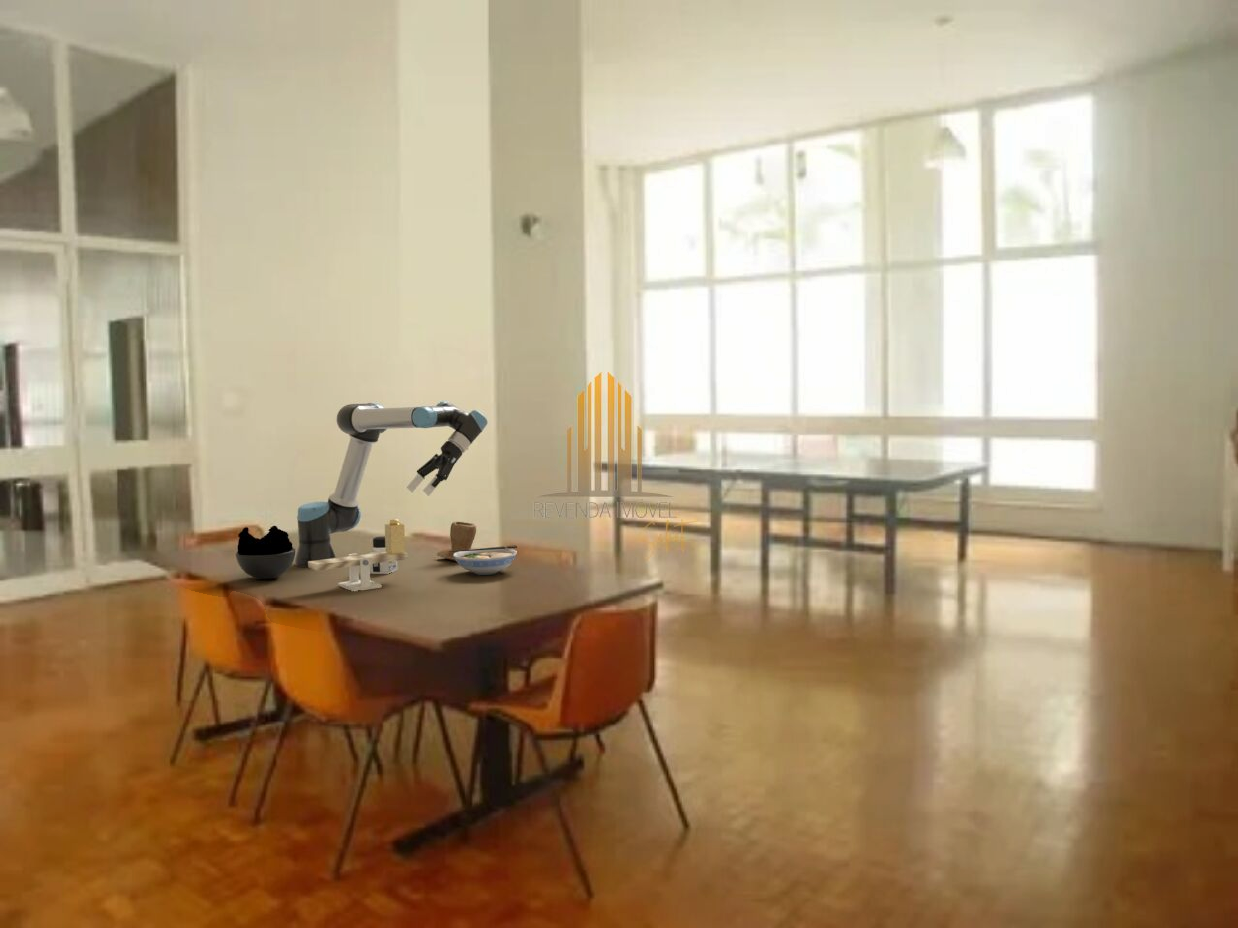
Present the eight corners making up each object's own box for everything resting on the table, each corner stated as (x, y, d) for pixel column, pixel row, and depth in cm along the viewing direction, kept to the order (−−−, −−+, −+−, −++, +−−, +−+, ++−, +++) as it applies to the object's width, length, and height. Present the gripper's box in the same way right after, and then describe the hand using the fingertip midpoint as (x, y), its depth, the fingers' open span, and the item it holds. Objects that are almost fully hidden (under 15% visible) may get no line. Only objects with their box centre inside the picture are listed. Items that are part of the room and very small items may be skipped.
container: (388, 574, 360) (387, 538, 358) (368, 573, 361) (367, 538, 360) (397, 570, 367) (396, 535, 366) (378, 569, 369) (376, 535, 368)
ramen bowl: (454, 581, 343) (453, 558, 343) (447, 570, 365) (446, 548, 365) (526, 576, 350) (525, 553, 349) (515, 565, 372) (514, 543, 371)
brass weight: (385, 552, 346) (384, 519, 345) (399, 551, 349) (398, 518, 348) (391, 554, 342) (390, 521, 341) (405, 552, 345) (404, 519, 344)
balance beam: (316, 570, 325) (316, 564, 325) (308, 567, 331) (307, 561, 331) (407, 559, 344) (407, 553, 343) (398, 556, 350) (398, 550, 350)
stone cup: (482, 560, 385) (481, 521, 383) (455, 564, 377) (454, 525, 376) (462, 555, 396) (461, 518, 395) (436, 559, 389) (434, 521, 388)
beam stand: (353, 591, 330) (351, 560, 329) (338, 585, 340) (337, 555, 339) (381, 587, 336) (380, 556, 335) (366, 581, 346) (365, 551, 345)
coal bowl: (308, 575, 360) (306, 523, 359) (268, 586, 342) (265, 531, 340) (266, 572, 368) (263, 521, 367) (224, 582, 350) (221, 529, 349)
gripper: (478, 456, 351) (440, 501, 343) (446, 452, 371) (409, 495, 363) (464, 441, 347) (425, 487, 339) (432, 438, 367) (395, 481, 360)
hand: (417, 491), depth 351 cm, fingers open, 13 cm apart
